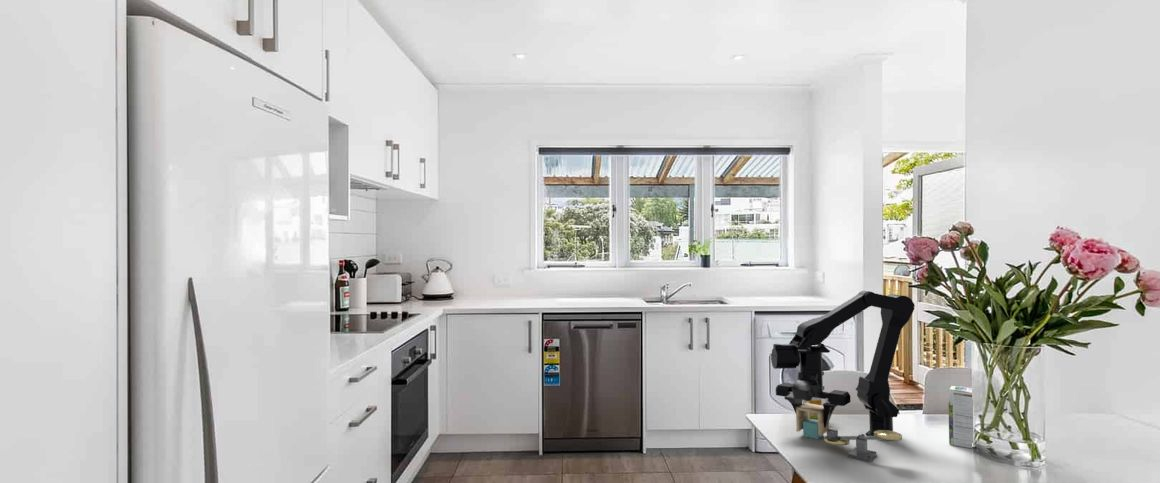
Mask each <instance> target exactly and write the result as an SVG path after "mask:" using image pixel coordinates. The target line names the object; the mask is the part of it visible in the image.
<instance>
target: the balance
mask: <svg viewBox="0 0 1160 483" xmlns="http://www.w3.org/2000/svg"><path fill="white" fill-rule="evenodd" d="M902 439H903V434H901V433H899V432H898V431H897V432H896V431H894V430H893V431H889V430H877V431H874V436H867V435H866V434H864V433H860V434H858V435H839V432H838V430H837V429H833V428H829V429H827V432H826V435H825V436H824V437H823V441H824V442H825V443H826V444H829V445H832V446H833V445H834V446H848V445H850V443H851V441H852V440H853V441H855V447H854V448H853V449H851V450H849V452H848V453H846V455H847V458H851V459H853V460H854V459H856V460H860V461H864V462H868V463H870V461H872V460H874V458H875V457H876V456H877V454H878V452H877V451H875V450H870V449H869V450H868V441H870V440H871V441H878V440H879V441H880V440H881V441H885V440H886V441H894V442H895V441H901V440H902Z"/></svg>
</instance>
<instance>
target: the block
mask: <svg viewBox="0 0 1160 483" xmlns="http://www.w3.org/2000/svg"><path fill="white" fill-rule="evenodd" d="M802 431H803V432H802V435H803V436H802V437H806V438H811V439H816V440H819V439H820V438H822V437H823V436H824V434H823V435H821V436H819V435H818V420H814V419H807V420H805V421H803V429H802Z"/></svg>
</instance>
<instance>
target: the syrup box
mask: <svg viewBox="0 0 1160 483" xmlns="http://www.w3.org/2000/svg"><path fill="white" fill-rule="evenodd" d="M972 388H973V387H967V386H960V385H959V386H958V385H957V386H956V385H951V387H949V389H948V444H949V445H950V446H955V447H961V448H967V449H973V448H972V443H973V400H972Z"/></svg>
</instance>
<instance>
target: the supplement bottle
mask: <svg viewBox="0 0 1160 483" xmlns="http://www.w3.org/2000/svg"><path fill="white" fill-rule="evenodd" d="M804 403H810V404H816V405H822V406H823V404H822V398H815V397H812V399H811V400H810V401H805V400H802V404H804ZM808 419H814V420H818V413H813V412H808Z"/></svg>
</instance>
